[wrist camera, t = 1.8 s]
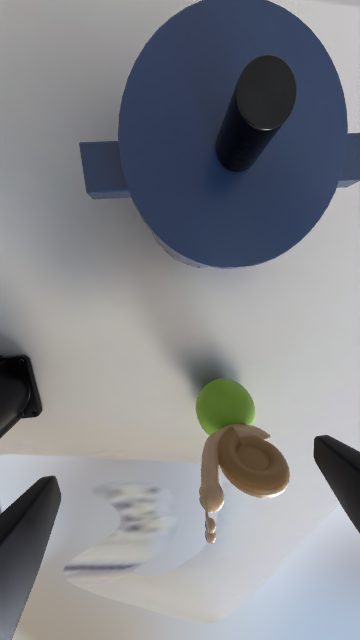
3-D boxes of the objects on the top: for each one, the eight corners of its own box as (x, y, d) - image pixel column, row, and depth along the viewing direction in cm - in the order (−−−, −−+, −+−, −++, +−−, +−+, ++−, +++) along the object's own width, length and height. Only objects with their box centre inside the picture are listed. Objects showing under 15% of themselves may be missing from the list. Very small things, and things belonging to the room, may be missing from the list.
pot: (289, 261, 19) (365, 251, 12) (122, 273, 18) (93, 269, 11) (295, 132, 17) (392, 23, 10) (105, 138, 16) (55, 22, 9)
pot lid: (321, 262, 12) (396, 255, 8) (136, 275, 12) (120, 274, 8) (340, 25, 10) (457, -145, 6) (107, 25, 9) (64, -166, 5)
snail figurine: (182, 370, 21) (206, 493, 9) (242, 368, 21) (340, 480, 9) (183, 416, 22) (205, 578, 10) (240, 412, 22) (325, 563, 10)
